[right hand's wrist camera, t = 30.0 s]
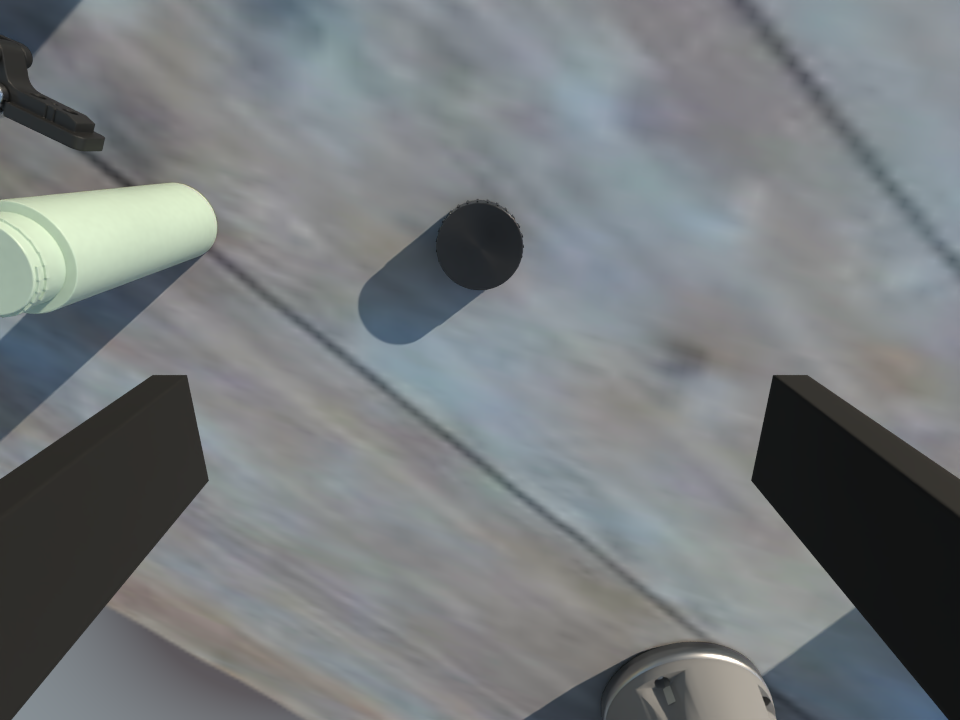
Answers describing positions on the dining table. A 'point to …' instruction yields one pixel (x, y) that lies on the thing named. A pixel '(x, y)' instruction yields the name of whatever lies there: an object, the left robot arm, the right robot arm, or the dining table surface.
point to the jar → (95, 242)
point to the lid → (479, 245)
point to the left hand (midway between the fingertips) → (77, 220)
